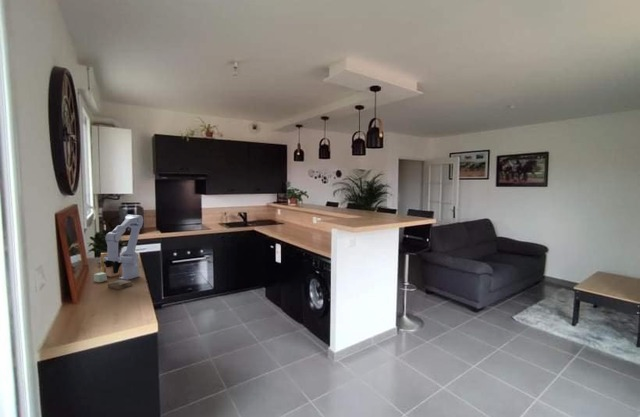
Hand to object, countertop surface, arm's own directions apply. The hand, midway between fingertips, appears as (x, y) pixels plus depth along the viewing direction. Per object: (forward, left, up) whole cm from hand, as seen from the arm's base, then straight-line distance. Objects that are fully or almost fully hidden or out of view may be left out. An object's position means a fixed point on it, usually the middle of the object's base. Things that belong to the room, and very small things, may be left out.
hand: (112, 272), depth 192 cm
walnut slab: (-1, +5, -9) cm, 10 cm away
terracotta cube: (0, 0, -2) cm, 2 cm away
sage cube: (-3, -16, -8) cm, 18 cm away
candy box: (-16, -27, -9) cm, 32 cm away
